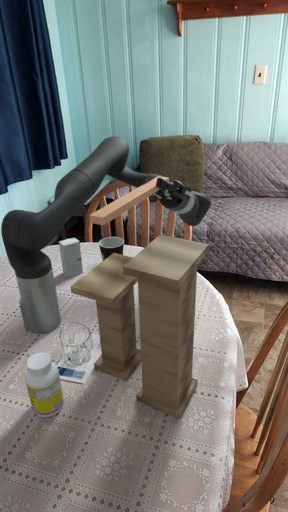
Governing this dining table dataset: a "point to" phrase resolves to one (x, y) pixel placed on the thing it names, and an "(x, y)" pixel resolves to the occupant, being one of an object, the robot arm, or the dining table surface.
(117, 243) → the coffee mug
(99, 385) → the dining table surface
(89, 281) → the pedestals
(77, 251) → the skincare box
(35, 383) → the supplement bottle
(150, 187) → the slat
